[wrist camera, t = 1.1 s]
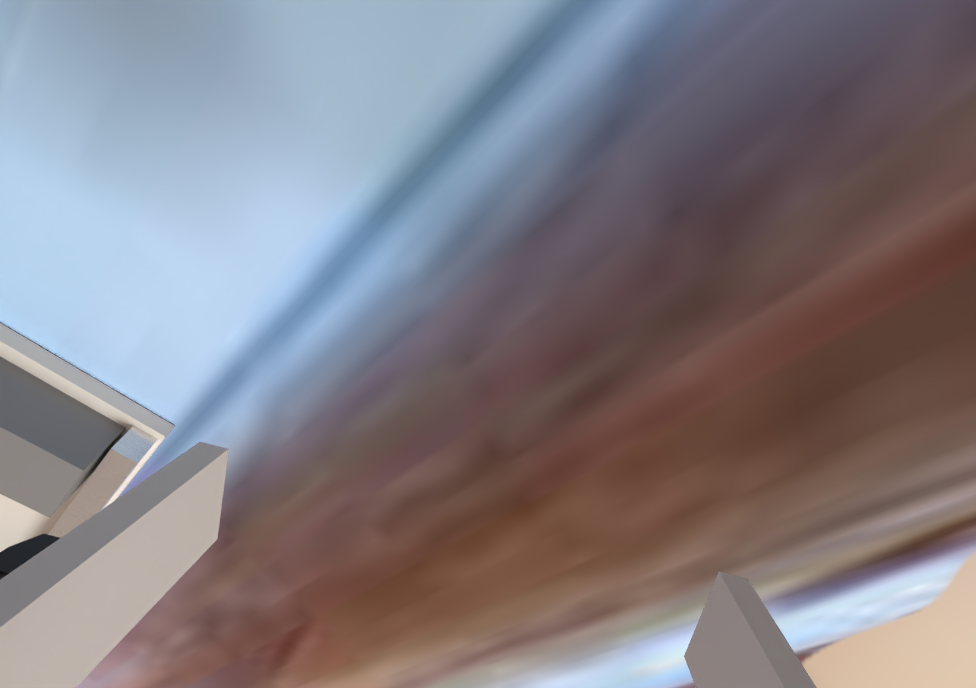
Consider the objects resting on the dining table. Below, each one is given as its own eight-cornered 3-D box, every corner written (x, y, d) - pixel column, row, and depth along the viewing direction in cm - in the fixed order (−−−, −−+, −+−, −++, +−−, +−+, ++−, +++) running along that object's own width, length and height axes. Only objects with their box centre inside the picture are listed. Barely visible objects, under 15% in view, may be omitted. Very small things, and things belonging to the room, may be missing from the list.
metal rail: (1, 603, 39) (-22, 629, 37) (133, 425, 30) (110, 448, 28) (21, 611, 39) (-1, 637, 38) (157, 439, 30) (137, 462, 29)
